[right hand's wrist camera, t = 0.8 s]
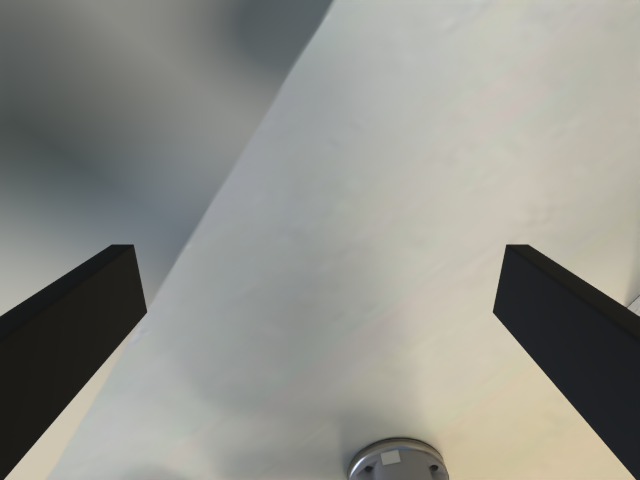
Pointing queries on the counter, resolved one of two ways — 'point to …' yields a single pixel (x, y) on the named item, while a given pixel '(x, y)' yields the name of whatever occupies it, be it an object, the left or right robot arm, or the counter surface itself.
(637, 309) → the cabinet
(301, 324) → the counter surface
